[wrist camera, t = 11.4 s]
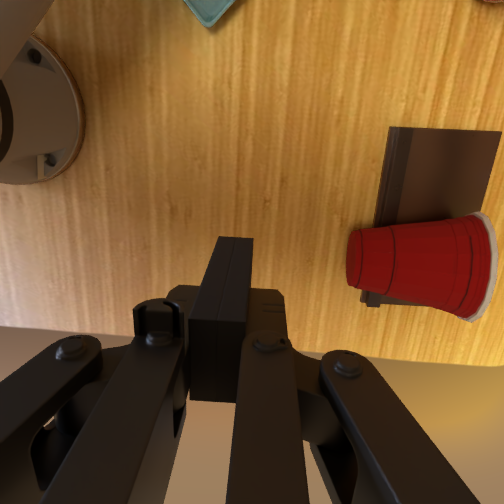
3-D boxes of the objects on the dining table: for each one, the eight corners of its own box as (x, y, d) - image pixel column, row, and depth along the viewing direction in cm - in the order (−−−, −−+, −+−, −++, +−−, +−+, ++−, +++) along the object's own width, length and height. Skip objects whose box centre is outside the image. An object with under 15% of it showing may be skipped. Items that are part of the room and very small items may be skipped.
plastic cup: (366, 206, 30) (518, 214, 29) (347, 203, 41) (458, 209, 39) (354, 328, 32) (497, 341, 31) (339, 295, 42) (445, 303, 41)
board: (359, 300, 43) (362, 306, 42) (389, 126, 36) (393, 126, 35) (451, 306, 43) (457, 312, 42) (499, 131, 36) (508, 132, 35)
